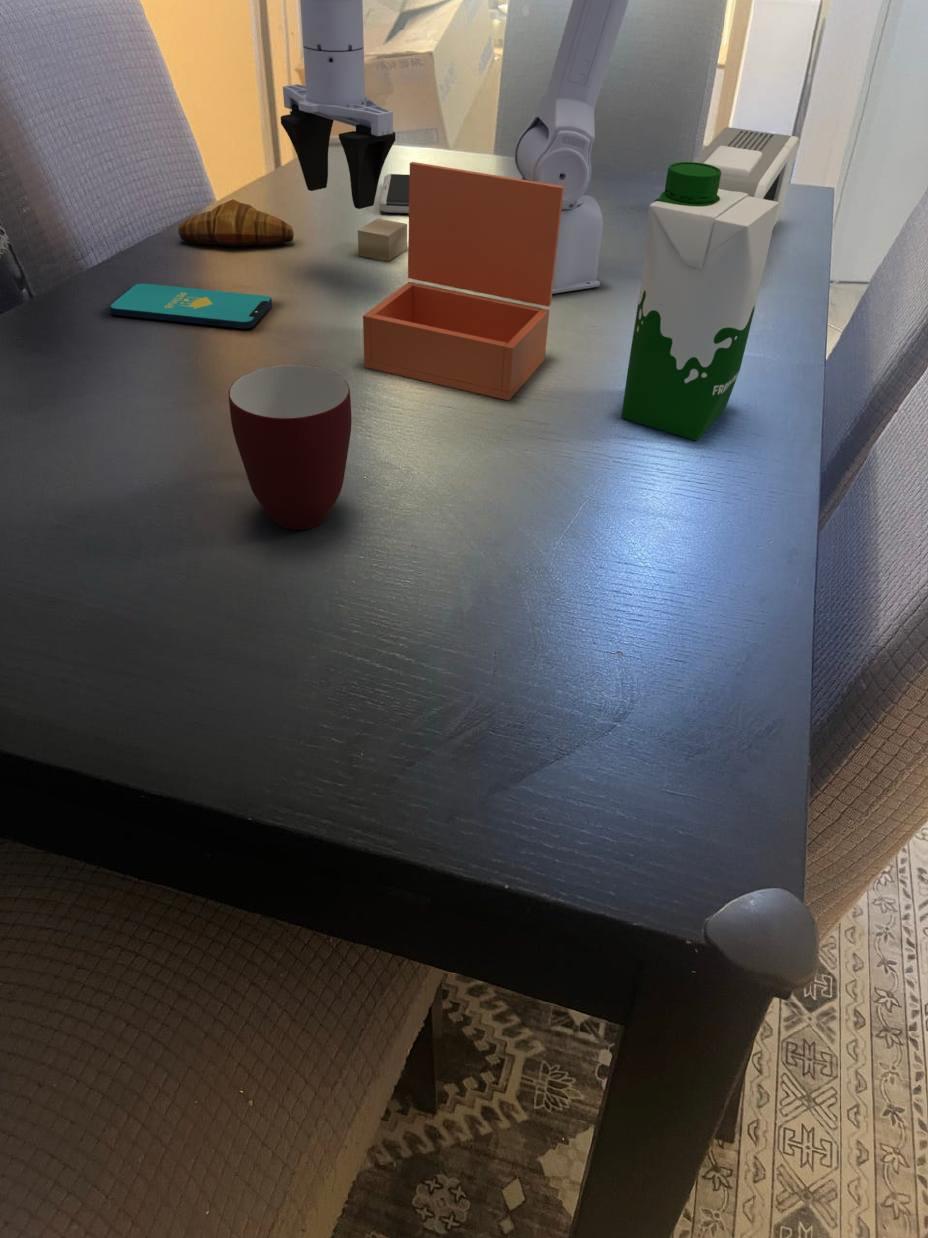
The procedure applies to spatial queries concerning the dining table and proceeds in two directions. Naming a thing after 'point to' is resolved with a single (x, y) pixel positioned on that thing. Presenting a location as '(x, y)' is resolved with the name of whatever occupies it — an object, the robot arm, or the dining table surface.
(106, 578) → the dining table surface
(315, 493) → the mug
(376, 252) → the block
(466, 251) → the case cover
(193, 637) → the dining table surface
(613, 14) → the robot arm
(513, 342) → the case
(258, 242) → the croissant
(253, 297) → the smartphone
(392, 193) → the tablet
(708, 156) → the alarm clock
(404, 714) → the dining table surface
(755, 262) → the milk carton
